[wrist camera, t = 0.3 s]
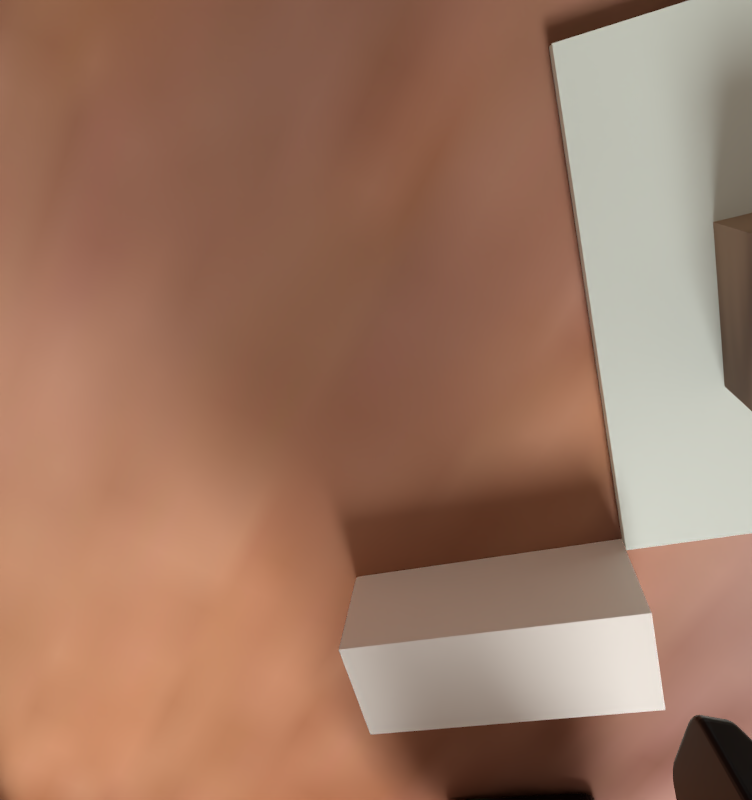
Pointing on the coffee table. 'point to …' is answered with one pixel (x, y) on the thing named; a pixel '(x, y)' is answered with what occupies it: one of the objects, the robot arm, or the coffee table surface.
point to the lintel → (502, 641)
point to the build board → (662, 255)
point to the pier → (735, 302)
